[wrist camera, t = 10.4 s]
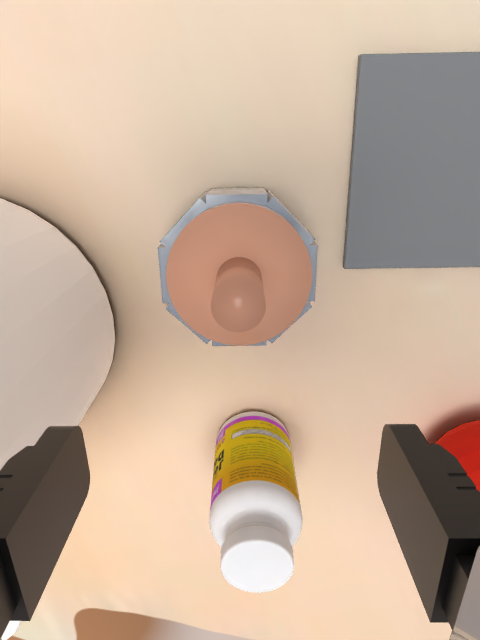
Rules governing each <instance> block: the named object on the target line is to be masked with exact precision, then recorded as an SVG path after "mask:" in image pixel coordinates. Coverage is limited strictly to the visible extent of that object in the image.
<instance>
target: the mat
mask: <svg viewBox="0 0 480 640" xmlns="http://www.w3.org/2000/svg"><path fill="white" fill-rule="evenodd" d="M343 267H344V269H370V268H442V267H480V52H452V53H402V54H361V55H360V56H359V59H358V72H357V86H356V99H355V113H354V126H353V139H352V153H351V166H350V179H349V193H348V206H347V220H346V233H345V246H344V260H343Z"/></svg>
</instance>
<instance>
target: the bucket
mask: <svg viewBox="0 0 480 640" xmlns="http://www.w3.org/2000/svg"><path fill="white" fill-rule="evenodd" d="M114 345H115V332H114V320H113V314H112V311H111V308H110V304H109V301H108V298H107V294H106V291H105V289H104V287H103V285H102V283H101V281H100V279H99V278H98V276H97V274H96V272H95V270H94V268H93V267H92V265H91V264H90V263H89V262H88V260H87V259H86V258H85V256H84V255H83V254H82V253H81V251H80V250H79V249H78V247H77V246H76V245H75V244H74V243H72V242H71V241H70V240H69V239H68V238H67V237H66V236H65V235H64V234H63V233H61V232H60V231H59V230H58V229H57V228H56V227H54V226H53V225H51V224H50V223H48V222H47V221H45V220H44V219H42V218H40V217H39V216H37V215H36V214H34V213H33V212H31V211H30V210H27V209H25V208H23V207H20V206H18V205H16V204H13V203H11V202H9V201H6V200H4V199H1V198H0V470H1V469H2V467H3V466H4V465H5V463H6V462H7V461H8V460H9V459H10V458H11V457H12V456H14V455H15V454H17V453H18V452H19V451H21V450H22V449H23V448H25V447H26V446H34V445H35V444H36V443H37V441H38V440H39V438H40V437H41V435H42V434H43V433H44V431H45V430H46V429H47V428H48V427H49V426H78V425H79V424H80V422H81V420H82V419H83V417H84V415H85V414H86V412H87V410H88V409H89V407H90V405H91V404H92V402H93V400H94V399H95V397H96V395H97V394H98V392H99V390H100V389H101V387H102V385H103V384H104V382H105V380H106V377H107V375H108V372H109V369H110V367H111V364H112V361H113V353H114ZM20 623H21V621H9V623H8V625H7V627H6V629H5V631H4V633H3V635H2V637H1V638H2V640H7V639H8V638H9V637H10V636H12V635H13V634H14V633H15V632H16V631H17V629H18V627H19V625H20Z"/></svg>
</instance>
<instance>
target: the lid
mask: <svg viewBox="0 0 480 640" xmlns="http://www.w3.org/2000/svg"><path fill="white" fill-rule="evenodd" d="M166 282H167V288H168V292H169V296H170V299H171V301H172V303H173V306H174V308H175V309H176V311H177V313H178V314H179V316H180V317H181V318H182V319H183V320H184V322H185V323H186V324H187V325H188V326H190V327H191V328H192V329H193V330H194V331H196V332H197V333H198V334H200V335H202V336H204V337H206V338H208V339H210V340H212V341H215V342H218V343H222V344H227V345H240V346H242V345H252V344H256V343H260V342H263V341H266V340H269V339H271V338H273V337H275V336H277V335H278V334H280V333H282V332H283V331H284V330H286V329H287V328H288V327H289V326H290V325H291V324H292V323H293V322H294V321H295V320H296V319H297V318H298V316H299V315H300V313H301V312H302V310H303V308H304V307H305V305H306V302H307V300H308V297H309V294H310V290H311V285H312V265H311V260H310V256H309V253H308V250H307V248H306V246H305V244H304V241H303V240H302V238H301V237H300V235H299V234H298V232H297V231H296V229H295V228H294V227H293V226H292V225H291V224H290V222H288V221H287V220H286V219H285V218H284V217H283V216H281V215H280V214H278V213H277V212H275V211H273V210H271V209H269V208H267V207H264V206H261V205H258V204H254V203H248V202H231V203H225V204H220V205H217V206H214V207H212V208H209V209H207V210H205V211H204V212H202V213H200V214H199V215H197V216H196V217H195V218H193V219H192V220H191V221H190V222H189V223H188V224H187V225H186V226H185V228H184V229H183V230H182V231H181V233H180V234H179V235H178V237H177V239H176V240H175V242H174V244H173V246H172V248H171V251H170V253H169V257H168V261H167V268H166Z"/></svg>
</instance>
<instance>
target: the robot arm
mask: <svg viewBox="0 0 480 640" xmlns="http://www.w3.org/2000/svg"><path fill="white" fill-rule="evenodd" d="M377 479H378V488H379V492H380V496H381V499H382V501H383V504H384V506H385V509H386V511H387V514H388V516H389V519H390V521H391V524H392V527H393V529H394V532H395V534H396V537H397V539H398V542H399V544H400V547H401V549H402V552H403V554H404V557H405V560H406V562H407V565H408V567H409V570H410V572H411V575H412V577H413V580H414V582H415V585H416V587H417V590H418V593H419V595H420V598H421V600H422V603H423V605H424V608H425V610H426V613H427V615H428V618H429V620H430V622H449V624H450V626H451V628H452V633H451V636H450V639H449V640H480V491H479V490H477V489H476V486H475V484H474V483H473V481H472V480H471V478H470V477H469V476H467V473H466V471H465V470H464V468H463V467H462V465H461V464H460V462H459V461H458V460H457V458H456V457H455V456H454V455H452V454H451V453H450V452H448V451H447V450H446V449H444V448H443V447H442V446H441V445H439V444H428V442H427V440H426V439H425V437H424V436H423V434H422V433H421V431H420V429H419V428H418V426H417V425H415V424H386V425H385V426H384V428H383V432H382V440H381V448H380V455H379V463H378V472H377ZM89 484H90V471H89V465H88V460H87V455H86V449H85V444H84V438H83V433H82V430H81V428H80V427H79V426H49V427H48V428H47V429H46V430H45V431H44V433H43V434H42V435H41V437H40V438H39V440H38V441H37V443H36V444H35V445H34V446H26V447H25V448H23V449H22V450H21V451H19V452H18V453H17V454H15V455H14V456H12V457H11V458H10V459H9V460H8V461H7V462H6V463H5V465H4V466H3V467H2V469H1V470H0V640H2V638H1V637H2V635H3V633H4V631H5V629H6V627H7V625H8V623H9V621H30V620H31V617H32V615H33V613H34V611H35V609H36V606H37V604H38V602H39V600H40V598H41V596H42V593H43V591H44V589H45V587H46V585H47V582H48V580H49V578H50V576H51V574H52V571H53V569H54V567H55V565H56V563H57V561H58V558H59V556H60V554H61V552H62V550H63V547H64V545H65V543H66V541H67V539H68V536H69V534H70V532H71V530H72V528H73V525H74V523H75V521H76V519H77V517H78V515H79V512H80V510H81V508H82V506H83V504H84V501H85V499H86V497H87V494H88V490H89Z"/></svg>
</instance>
